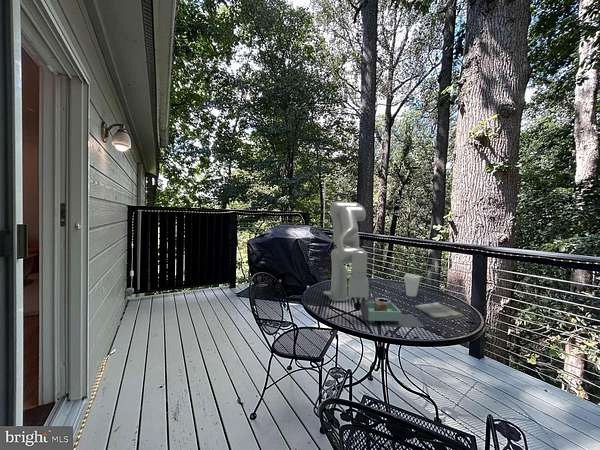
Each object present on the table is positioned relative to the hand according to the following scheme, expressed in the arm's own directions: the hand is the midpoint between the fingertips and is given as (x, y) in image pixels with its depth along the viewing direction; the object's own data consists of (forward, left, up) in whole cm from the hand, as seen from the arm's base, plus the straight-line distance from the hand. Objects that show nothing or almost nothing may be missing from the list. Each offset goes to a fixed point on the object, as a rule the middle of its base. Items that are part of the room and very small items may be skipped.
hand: (357, 309), depth 152 cm
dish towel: (+49, +13, -6) cm, 51 cm away
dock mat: (+23, 0, -5) cm, 23 cm away
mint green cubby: (+12, 0, -5) cm, 13 cm away
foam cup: (+46, +44, -5) cm, 64 cm away
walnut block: (+12, 0, -1) cm, 12 cm away
